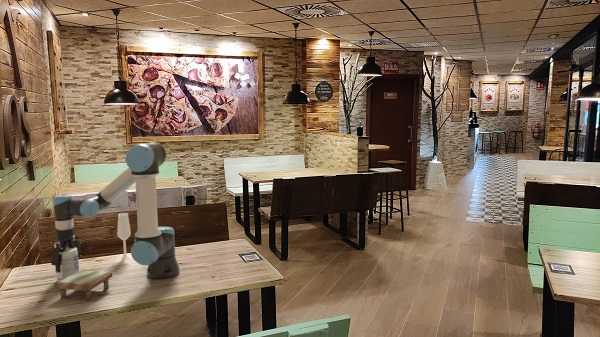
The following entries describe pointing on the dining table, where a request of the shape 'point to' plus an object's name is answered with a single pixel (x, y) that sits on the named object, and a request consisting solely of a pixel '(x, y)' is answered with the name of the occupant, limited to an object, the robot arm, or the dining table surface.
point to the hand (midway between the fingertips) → (67, 274)
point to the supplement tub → (69, 262)
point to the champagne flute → (123, 232)
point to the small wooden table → (83, 282)
